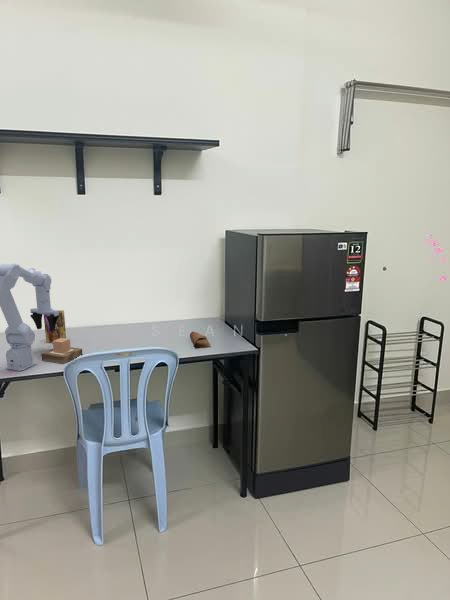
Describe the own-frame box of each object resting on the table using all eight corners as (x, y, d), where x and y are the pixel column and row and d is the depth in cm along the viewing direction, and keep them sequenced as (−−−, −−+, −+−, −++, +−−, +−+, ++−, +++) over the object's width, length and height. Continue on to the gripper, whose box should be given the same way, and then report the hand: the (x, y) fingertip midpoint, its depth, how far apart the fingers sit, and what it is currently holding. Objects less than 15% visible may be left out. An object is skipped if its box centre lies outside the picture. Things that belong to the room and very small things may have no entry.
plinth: (63, 363, 187) (63, 357, 187) (41, 360, 192) (41, 353, 191) (82, 355, 198) (82, 348, 198) (61, 351, 203) (60, 345, 202)
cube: (62, 353, 191) (61, 342, 190) (53, 352, 193) (52, 341, 192) (70, 350, 196) (69, 339, 195) (61, 348, 198) (60, 337, 197)
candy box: (66, 339, 221) (64, 309, 218) (64, 342, 217) (62, 311, 214) (48, 340, 220) (45, 310, 217) (45, 342, 216) (43, 312, 213)
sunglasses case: (212, 347, 209) (205, 336, 207) (199, 355, 208) (192, 344, 206) (206, 336, 226) (199, 326, 224) (194, 344, 225) (187, 333, 224)
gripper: (62, 299, 199) (64, 329, 202) (37, 297, 204) (40, 325, 207) (51, 303, 193) (53, 333, 195) (25, 300, 198) (28, 329, 201)
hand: (46, 329), depth 201 cm, fingers open, 7 cm apart
